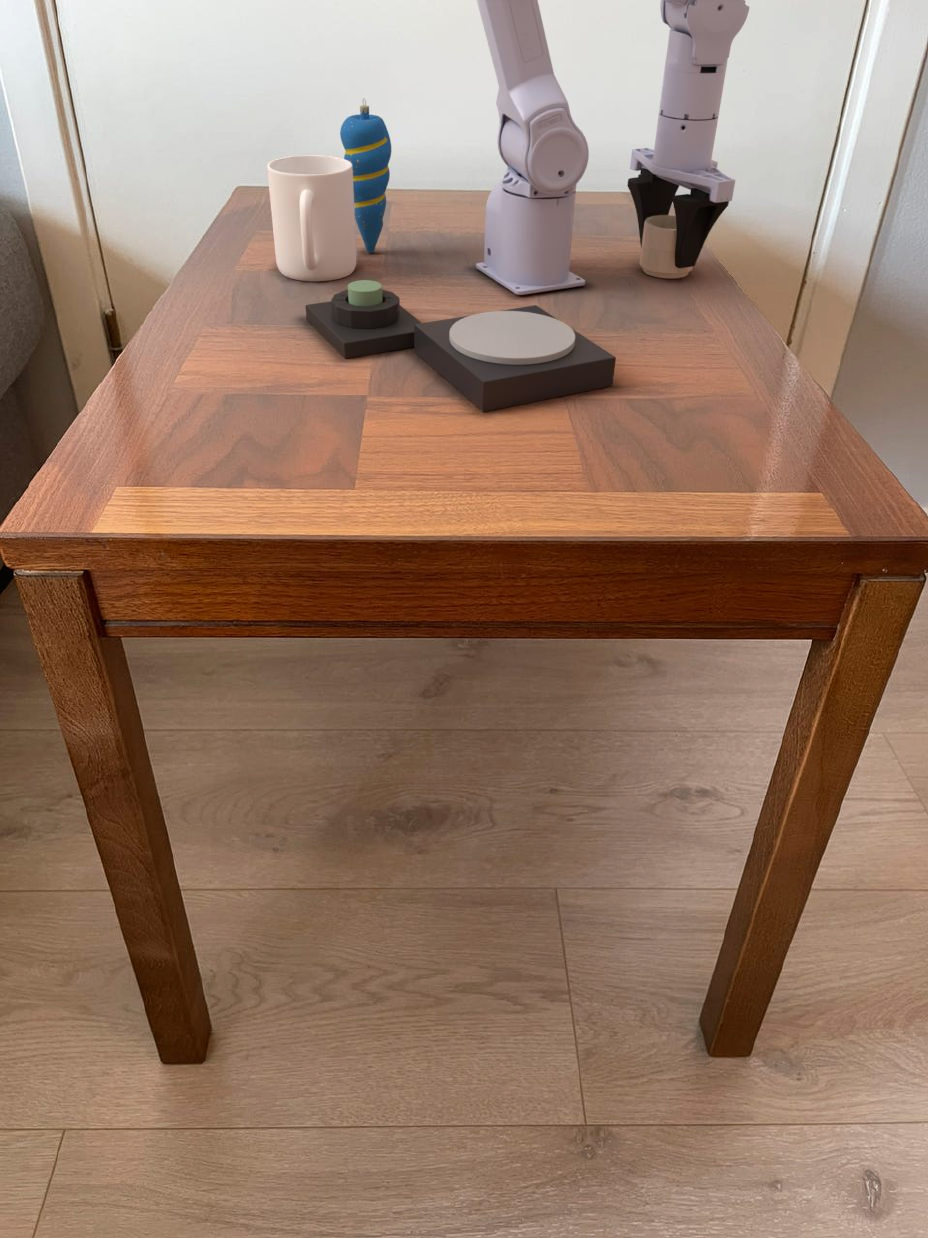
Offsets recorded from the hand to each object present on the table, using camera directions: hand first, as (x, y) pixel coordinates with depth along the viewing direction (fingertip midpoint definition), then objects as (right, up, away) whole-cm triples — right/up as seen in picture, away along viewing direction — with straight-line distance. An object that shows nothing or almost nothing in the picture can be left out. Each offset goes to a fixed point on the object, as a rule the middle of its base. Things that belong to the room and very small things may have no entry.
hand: (667, 257), depth 103 cm
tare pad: (-30, -12, -15) cm, 36 cm away
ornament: (-32, +2, +4) cm, 32 cm away
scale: (-18, -17, -20) cm, 32 cm away
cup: (-37, -3, -2) cm, 37 cm away
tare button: (-30, -10, -16) cm, 36 cm away
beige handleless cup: (0, -1, +1) cm, 1 cm away
